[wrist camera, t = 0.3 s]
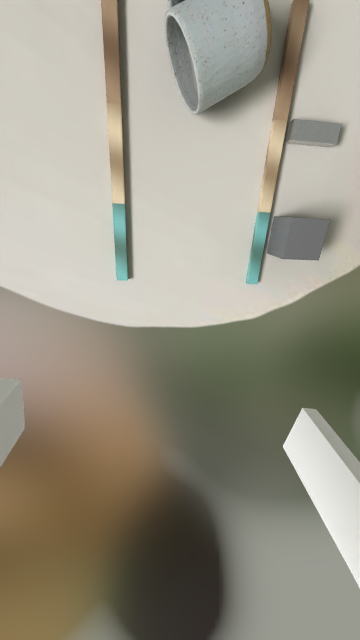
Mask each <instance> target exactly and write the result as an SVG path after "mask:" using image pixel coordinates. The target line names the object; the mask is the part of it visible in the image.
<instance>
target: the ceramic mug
mask: <svg viewBox="0 0 360 640" xmlns="http://www.w3.org/2000/svg"><path fill="white" fill-rule="evenodd" d="M180 1H181V0H168V11H167V13H166V17H165V34H166V43H167V49H168V54H169V59H170V63H171V68H172V71H173V74H174V77H175V81H176V84H177V87H178V90H179V92H180V95H181V97H182V99H183V102H184V103H185V105H186V107H187V108H188V110H189V111H190V112H191V113H192V114H194V115H196V114H199V113H201V112H203V111H204V110H206V109H207V108H209V107H211V106H212V105H214V104H216V103H218V102H219V101H221V100H223V99H224V98H226V97H227V96H229V95H231V94H232V93H234V92H236V91H237V90H239V89H241V88H243V87H244V86H246V85H247V84H249V83H250V82H251V81H252V80H254V79H255V78H256V77H257V76H258V75H259V74H260V73H261V71H262V70H263V68H264V66H265V64H266V60H267V57H268V54H269V49H270V42H271V16H270V8H269V3H268V0H185V1H183V2H181V3H179V2H180ZM178 3H179V4H178Z"/></svg>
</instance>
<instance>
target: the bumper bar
mask: <svg viewBox="0 0 360 640" xmlns="http://www.w3.org/2000/svg"><path fill="white" fill-rule="evenodd" d="M341 126H342V124H339V123H329V122H319V121H309V120H299V119H294V120H292V121H291V122H289V123H288V126H287V131H286V137H285V142H284V143H288V144H299V145H310V146H321V147H330V146H333V145H336V144H337V141H338V137H339V133H340V129H341Z"/></svg>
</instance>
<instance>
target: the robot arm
mask: <svg viewBox="0 0 360 640" xmlns="http://www.w3.org/2000/svg"><path fill="white" fill-rule="evenodd" d="M24 425H25V424H24V409H23V393H22V380H20V379H10V378H1V379H0V467H1V465H2V464H3V462H4V460H5V458H6V457H7V455H8V454H9V452H10V451H11V449H12V447H13V446H14V444H15V443H16V441H17V440H18V438H19V436H20V435H21V433H22V431H23V430H24V428H25V426H24ZM283 448H284V449H285V451H286V453H287V455H288V457H289V459H290V460H291V462H292V464H293V466H294V468H295V470H296V471H297V473H298V475H299V477H300V479H301V481H302V483H303V484H304V486H305V488H306V490H307V492H308V494H309V495H310V497H311V499H312V501H313V503H314V505H315V506H316V508H317V510H318V512H319V514H320V515H321V517H322V519H323V521H324V523H325V525H326V527H327V529H328V530H329V532H330V534H331V536H332V538H333V539H334V541H335V543H336V545H337V547H338V549H339V550H340V552H341V554H342V556H343V558H344V560H345V562H346V563H347V565H348V567H349V569H350V571H351V573H352V574H353V576H354V578H355V580H356V582H357V584H358V585H359V587H360V462H359V461H358V460H357V459H356V458H355V456H354V455H353V454H352V453H351V451H350V450H349V449H348V448H347V447H346V445H345V444H344V443H343V442H342V440H341V439H340V438H339V437H338V436H337V434H336V433H335V432H334V431H333V429H332V428H331V427H330V426H329V425H328V423H327V422H326V421H325V420H324V419H323V417H322V416H321V415H320V414H319V412H318V411H317V410H316V409H307V408H302V410H301V412H300V414H299V416H298V418H297V420H296V422H295V424H294V426H293V428H292V430H291V432H290V434H289V436H288V438H287V440H286V442H285V444H284V445H283Z"/></svg>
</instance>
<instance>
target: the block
mask: <svg viewBox="0 0 360 640" xmlns="http://www.w3.org/2000/svg"><path fill="white" fill-rule="evenodd" d="M329 221H330V219H315V218H297V217H274V219H273V224H272V229H271V234H270V240H269V245H268V250H267V254H270V255H273V256H276V257H279V258H281V259H297V260H319V257H320V254H321V250H322V247H323V243H324V239H325V236H326V232H327V229H328V225H329Z"/></svg>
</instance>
